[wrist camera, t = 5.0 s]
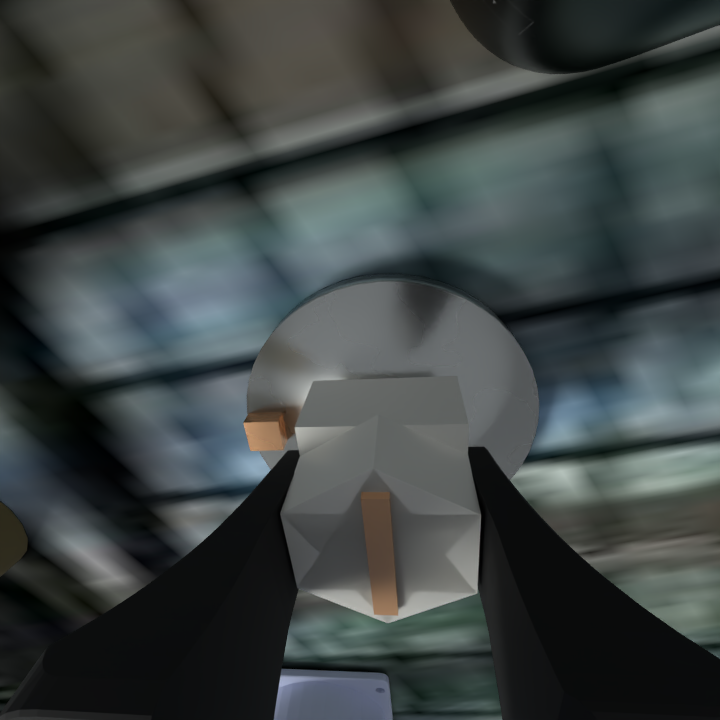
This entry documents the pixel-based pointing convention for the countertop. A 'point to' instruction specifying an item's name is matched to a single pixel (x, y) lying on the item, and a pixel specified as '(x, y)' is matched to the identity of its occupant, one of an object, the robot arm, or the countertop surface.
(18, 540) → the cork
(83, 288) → the countertop surface
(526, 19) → the supplement bottle
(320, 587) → the white faceted lump
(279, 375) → the knobbed pot lid
